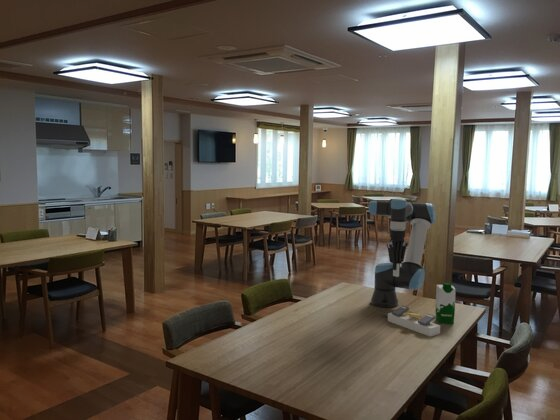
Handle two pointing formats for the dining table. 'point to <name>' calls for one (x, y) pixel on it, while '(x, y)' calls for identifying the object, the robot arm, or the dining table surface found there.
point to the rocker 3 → (426, 319)
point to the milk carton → (445, 303)
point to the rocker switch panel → (413, 324)
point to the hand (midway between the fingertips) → (395, 276)
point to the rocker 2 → (413, 315)
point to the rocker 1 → (400, 310)
